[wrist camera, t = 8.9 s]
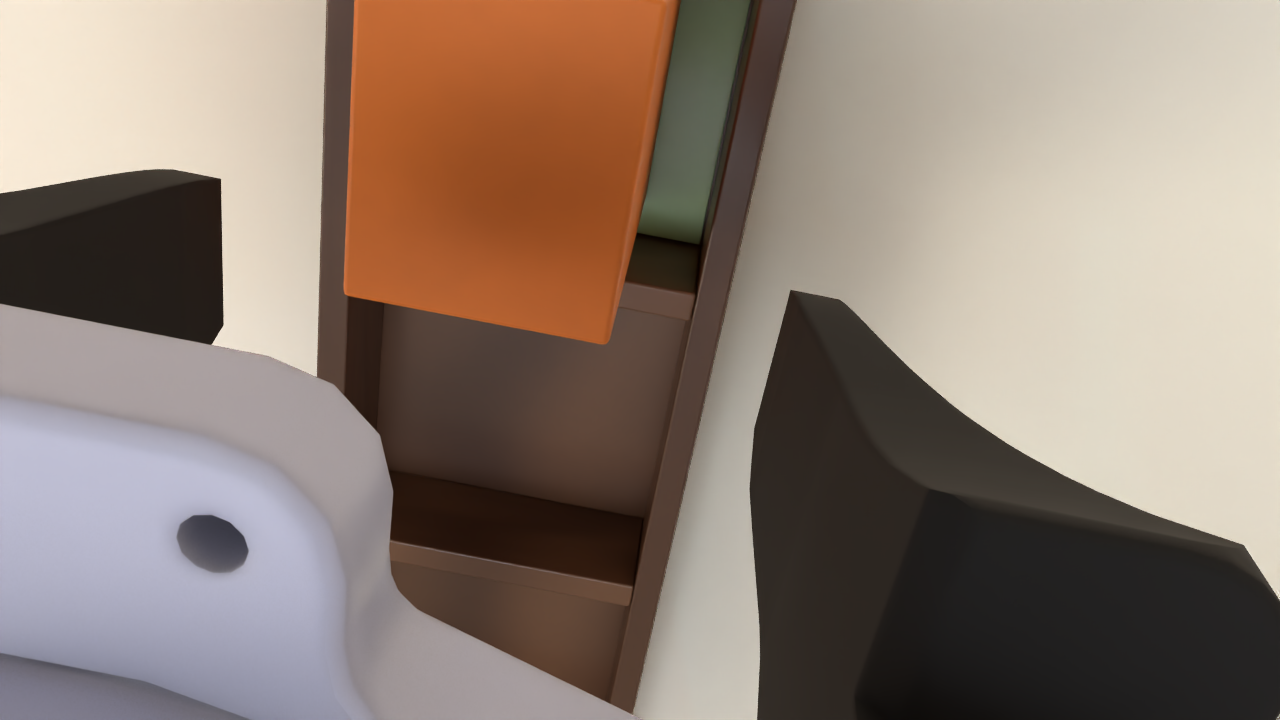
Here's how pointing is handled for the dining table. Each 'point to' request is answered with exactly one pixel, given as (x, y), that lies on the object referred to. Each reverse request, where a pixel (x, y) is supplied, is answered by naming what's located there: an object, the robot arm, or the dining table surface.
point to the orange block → (503, 155)
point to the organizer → (561, 382)
